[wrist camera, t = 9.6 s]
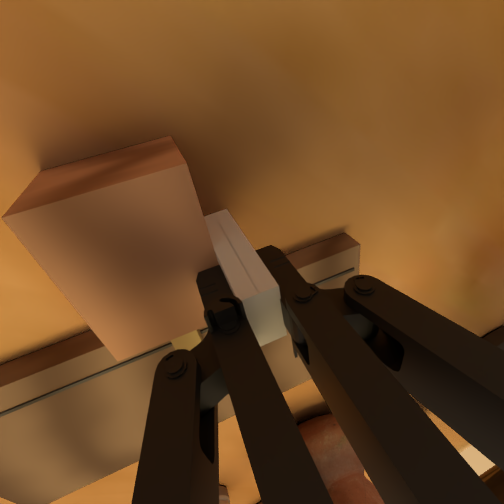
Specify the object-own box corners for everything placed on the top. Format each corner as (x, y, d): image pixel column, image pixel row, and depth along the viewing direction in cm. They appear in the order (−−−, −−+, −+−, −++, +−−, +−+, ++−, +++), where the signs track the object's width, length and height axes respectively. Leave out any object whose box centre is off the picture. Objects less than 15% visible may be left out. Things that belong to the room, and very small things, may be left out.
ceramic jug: (364, 422, 44) (446, 544, 32) (286, 476, 44) (341, 617, 32) (326, 376, 33) (430, 535, 21) (224, 448, 33) (273, 644, 22)
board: (345, 232, 21) (361, 245, 20) (343, 344, 30) (355, 359, 28) (-115, 409, 16) (-140, 444, 15) (39, 484, 24) (33, 512, 23)
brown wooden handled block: (170, 135, 14) (186, 163, 10) (238, 336, 23) (260, 391, 19) (40, 171, 13) (1, 218, 9) (166, 366, 22) (174, 431, 18)
